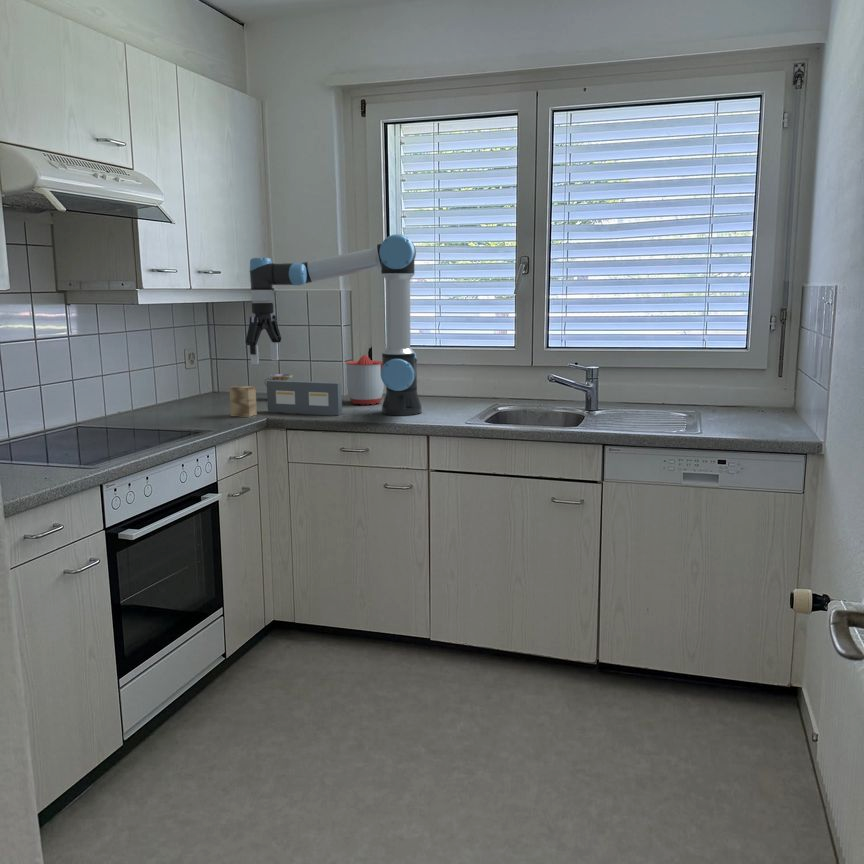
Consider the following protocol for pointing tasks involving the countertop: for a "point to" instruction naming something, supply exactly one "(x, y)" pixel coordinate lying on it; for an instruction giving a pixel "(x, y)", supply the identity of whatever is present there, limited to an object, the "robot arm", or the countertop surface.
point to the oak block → (243, 400)
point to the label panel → (304, 397)
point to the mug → (281, 377)
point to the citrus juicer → (364, 381)
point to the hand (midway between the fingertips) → (265, 362)
